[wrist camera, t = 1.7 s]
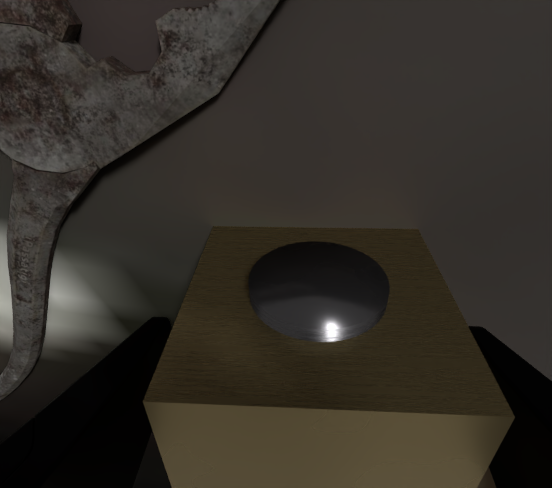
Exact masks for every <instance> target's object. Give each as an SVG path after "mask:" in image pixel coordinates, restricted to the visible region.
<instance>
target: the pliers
mask: <svg viewBox="0 0 552 488" xmlns="http://www.w3.org/2000/svg"><path fill="white" fill-rule="evenodd" d="M279 1H280V0H215V3H210V4H209V6H203V7H197V8H191V7H183V8H173V9H172V10H171V11H169V12H168V13H166V14H165V15H163V16H162V17H161V18H159V19H158V20H156V26H157V31H158V36H159V41H160V46H161V51H162V52H161V54H160V56H159V58H158V59H157V61H156V63H155V64H154V66H153V68H152V70H151V71H141V72H134V71H133V70H131V69H130V68H128V67H127V66H126V65H124V64H123V63H121V62H120V61H119V60H117V59H116V58H114V57H113V56H111V57H107V58H103V59H100V60H99V61H97V62H95V60H94V59H93V58H92V57H91V56H90V55H89V54H88V53H87V52H86V51H85V50H84V49H83V48H82V47H81V46H80V45H79V44H78V43H77V41H76V40H75V39H76V37H77V35H78V32H79V30H80V28H81V26H82V23H81V21H80V19H79V18H78V16H77V15H76V13H75V11H74V10H73V8H72V7H71V5H70V3H69V2H68V0H0V150H2V151H3V152H4V153H5V154H7V155H8V156H9V157H10V158H12V171H13V173H14V180H13V188H12V195H11V203H10V212H9V221H8V230H7V252H8V268H9V276H10V284H11V295H12V308H13V330H14V333H13V349H12V352H11V356H10V359H9V362H8V365H7V366H6V368H5V369H4V371H3V372H2V374H1V375H0V400H2V399H4V398H5V397H6V396H7V395H9V394H10V393H11V392H12V391H13V390H14V389H16V388H17V387H18V386H19V385H20V383H21V382H22V381H23V380H24V379H25V378H26V376H27V375H28V374H29V373H30V372H31V370H32V369H33V367H34V365H35V363H36V361H37V359H38V357H39V355H40V353H41V350H42V345H43V341H44V337H45V330H46V320H47V310H48V299H49V287H50V275H51V268H52V261H53V255H54V249H55V245H56V242H57V238H58V234H59V231H60V227H61V224H62V222H63V221H64V219H65V217H66V215H67V214H68V212H69V210H70V208H71V207H72V205H73V203H74V202H75V201H76V200H77V199H78V198H79V197H80V195H81V194H82V193H83V191H84V190H85V189H86V187H87V186H88V185H89V184H90V182H91V181H92V180H93V178H94V177H95V176H96V175H97V173H98V172H99V171H100V169H101V168H102V167H104V166H106V165H107V164H109V163H110V162H112V161H114V160H115V159H117V158H118V157H120V156H122V155H123V154H125V153H126V152H128V151H130V150H131V149H133V148H134V147H136V146H137V145H139V144H141V143H142V142H144V141H145V140H147V139H148V138H150V137H151V136H153V135H155V134H156V133H158V132H159V131H161V130H162V129H164V128H165V127H167V126H169V125H170V124H172V123H173V122H175V121H176V120H178V119H179V118H181V117H183V116H184V115H186V114H187V113H189V112H190V111H192V110H194V109H195V108H197V107H198V106H200V105H201V104H203V103H204V102H206V101H208V100H209V99H211V98H212V97H214V96H215V95H217V94H218V93H219V92H220V91H221V90H222V88H223V87H224V85H225V83H226V82H227V80H228V79H229V77H230V76H231V74H232V73H233V71H234V70H235V68H236V67H237V65H238V64H239V62H240V61H241V59H242V58H243V56H244V55H245V53H246V52H247V50H248V49H249V47H250V45H251V44H252V42H253V41H254V39H255V38H256V36H257V35H258V33H259V32H260V30H261V29H262V27H263V26H264V24H265V23H266V21H267V20H268V18H269V17H270V15H271V14H272V12H273V10H274V9H275V7H276V6H277V4H278V3H279Z"/></svg>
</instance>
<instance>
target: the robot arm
mask: <svg viewBox="0 0 552 488" xmlns="http://www.w3.org/2000/svg"><path fill="white" fill-rule="evenodd" d="M468 327H469V329H470V331H471V333H472V335H473V337H474V339H475V341H476V343H477V344H478V346H479V348H480V350H481V352H482V354H483V356H484V358H485V360H486V362H487V364H488V366H489V368H490V370H491V372H492V374H493V375H494V377H495V379H496V381H497V383H498V385H499V387H500V389H501V391H502V393H503V395H504V397H505V399H506V401H507V403H508V405H509V407H510V408H511V410H512V412H513V414H514V416H515V418H514V420H513V422H512V424H511V426H510V428H509V429H508V431H507V433H506V435H505V437H504V439H503V441H502V442H501V444H500V446H499V448H498V450H497V452H496V453H495V455H494V457H493V459H492V461H491V463H490V465H489V466H488V467H489V469H490V472H491V475H492V478H493V480H494V483H495V486H496V488H552V381H551V380H549V379H548V378H547V377H546V376H544V375H543V374H542V373H541V372H539V371H538V370H537V369H535V368H534V367H533V366H532V365H530V364H529V363H528V362H527V361H525V360H524V359H523V358H521V357H520V356H519V355H518V354H516V353H515V352H514V351H513V350H511V349H510V348H509V347H507V346H506V345H505V344H504V343H502V342H501V341H500V340H499V339H497V338H496V337H495V336H494V335H492V334H491V333H490V332H488V331H487V330H486V329H484V328H483V327H479V326H468ZM171 330H172V329H171V324H170V321H169V319H168V318H166V317H152V318H151V319H149V320H148V321H147V322H146V323H144V324H143V325H142V326H141V327H140V328H138V329H137V330H136V331H135V332H134V333H133V334H131V335H130V336H129V337H128V338H127V339H125V340H124V341H123V342H122V343H121V344H119V345H118V346H117V347H116V348H115V349H113V350H112V351H111V352H110V353H109V354H107V355H106V356H105V357H104V358H103V359H101V360H100V361H99V362H98V363H97V364H96V365H94V366H93V367H92V368H91V369H90V370H88V371H87V372H86V373H85V374H84V375H82V376H81V377H80V378H79V379H78V380H76V381H75V382H74V383H73V384H72V385H70V386H69V387H68V388H67V389H66V390H65V391H63V392H62V393H61V394H60V395H59V396H57V397H56V398H55V399H54V400H53V401H51V402H50V403H49V404H48V405H47V406H45V407H44V408H43V409H42V410H41V411H39V412H38V413H37V414H36V415H35V418H31V419H30V420H29V421H27V422H26V423H25V424H24V425H23V426H21V427H20V428H19V429H18V430H17V431H15V432H14V433H13V434H12V435H10V436H9V437H8V438H7V439H5V440H4V441H3V442H2V443H1V444H0V488H132V487H133V484H134V481H135V478H136V475H137V472H138V470H139V467H140V464H141V461H142V458H143V455H144V452H145V449H146V446H147V444H148V441H149V438H150V435H151V432H152V427H151V425H150V422H149V419H148V416H147V413H146V410H145V407H144V404H143V400H144V397H145V395H146V392H147V390H148V387H149V385H150V382H151V380H152V377H153V375H154V372H155V370H156V367H157V365H158V362H159V360H160V358H161V355H162V353H163V350H164V348H165V345H166V343H167V340H168V338H169V335H170V333H171Z"/></svg>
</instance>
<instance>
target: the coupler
mask: <svg viewBox="0 0 552 488" xmlns="http://www.w3.org/2000/svg"><path fill="white" fill-rule="evenodd" d="M143 404H144V407H145V410H146V413H147V416H148V419H149V422H150V425H151V427H152V430H153V433H154V436H155V439H156V442H157V445H158V448H159V451H160V454H161V457H162V460H163V463H164V466H165V469H166V472H167V475H168V478H169V481H170V484H171V487H172V488H477V487H478V485H479V483H480V481H481V479H482V478H483V476H484V474H485V472H486V470H487V468H488V466H489V465H490V463H491V461H492V459H493V457H494V455H495V453H496V452H497V450H498V448H499V446H500V444H501V442H502V441H503V439H504V437H505V435H506V433H507V431H508V429H509V428H510V426H511V424H512V422H513V420H514V418H515V416H514V414H513V412H512V410H511V408H510V407H509V405H508V403H507V401H506V399H505V397H504V395H503V393H502V391H501V389H500V387H499V385H498V383H497V381H496V379H495V377H494V375H493V374H492V372H491V370H490V368H489V366H488V364H487V362H486V360H485V358H484V356H483V354H482V352H481V350H480V348H479V346H478V344H477V343H476V341H475V339H474V337H473V335H472V333H471V331H470V329H469V327H468V325H467V323H466V321H465V319H464V317H463V315H462V313H461V312H460V310H459V308H458V306H457V304H456V302H455V300H454V298H453V296H452V294H451V292H450V290H449V288H448V286H447V284H446V282H445V280H444V279H443V277H442V275H441V273H440V271H439V269H438V267H437V265H436V263H435V261H434V259H433V257H432V255H431V253H430V251H429V249H428V248H427V246H426V244H425V242H424V240H423V238H422V236H421V234H420V232H419V230H418V229H372V228H299V227H225V226H213V228H212V231H211V233H210V236H209V238H208V241H207V243H206V246H205V248H204V251H203V253H202V256H201V258H200V261H199V263H198V266H197V268H196V271H195V273H194V276H193V278H192V281H191V283H190V286H189V288H188V291H187V293H186V295H185V298H184V300H183V303H182V305H181V308H180V310H179V313H178V315H177V318H176V320H175V323H174V325H173V328H172V330H171V333H170V335H169V338H168V340H167V343H166V345H165V348H164V350H163V353H162V355H161V358H160V360H159V362H158V365H157V367H156V370H155V372H154V375H153V377H152V380H151V382H150V385H149V387H148V390H147V392H146V395H145V397H144V400H143Z"/></svg>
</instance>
